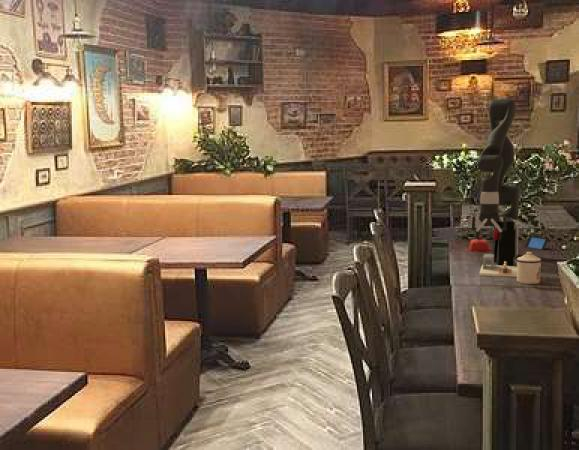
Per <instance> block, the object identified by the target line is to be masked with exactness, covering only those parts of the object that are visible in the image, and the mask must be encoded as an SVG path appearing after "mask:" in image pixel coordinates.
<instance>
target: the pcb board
mask: <svg viewBox="0 0 579 450" xmlns="http://www.w3.org/2000/svg"><path fill="white" fill-rule="evenodd" d="M503 269H504V266H500V265H497V264H496V265H495V264H494V268H493V270H491V264H486V268H485V269H483V264H481V267H480V270H479V273H478V275H479V276H486V277H487V276H488V277H491V276H492V277H513V278H514V277H515V278H517V265H515V266H507V273H503Z"/></svg>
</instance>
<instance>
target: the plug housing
mask: <svg viewBox="0 0 579 450" xmlns="http://www.w3.org/2000/svg"><path fill="white" fill-rule="evenodd" d="M487 261H490V265H491V270H493V268H494V265H495V262H494V254H492V253H484V254H483V256H482V265H483V269H485V268H486V265H487Z"/></svg>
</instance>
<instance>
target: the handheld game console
mask: <svg viewBox="0 0 579 450" xmlns="http://www.w3.org/2000/svg"><path fill="white" fill-rule="evenodd" d="M548 241H549V238H548V237H541V236H533V235H530V236H529V237H528V239H527V242H526V243H525V246H524V248H527V247H528V249H533V248H535V249H534V250H539V249H540V250H539V251H544V250H545V249H546V246H547V243H548Z"/></svg>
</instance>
